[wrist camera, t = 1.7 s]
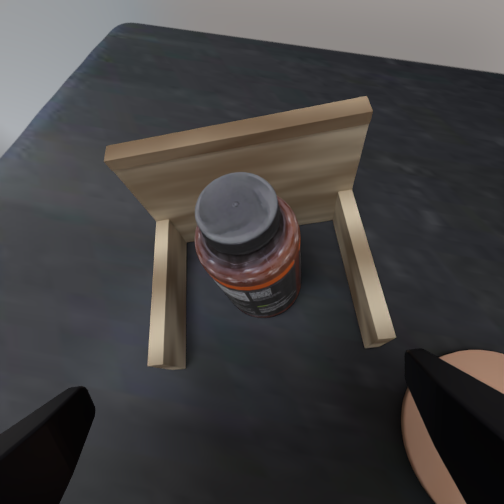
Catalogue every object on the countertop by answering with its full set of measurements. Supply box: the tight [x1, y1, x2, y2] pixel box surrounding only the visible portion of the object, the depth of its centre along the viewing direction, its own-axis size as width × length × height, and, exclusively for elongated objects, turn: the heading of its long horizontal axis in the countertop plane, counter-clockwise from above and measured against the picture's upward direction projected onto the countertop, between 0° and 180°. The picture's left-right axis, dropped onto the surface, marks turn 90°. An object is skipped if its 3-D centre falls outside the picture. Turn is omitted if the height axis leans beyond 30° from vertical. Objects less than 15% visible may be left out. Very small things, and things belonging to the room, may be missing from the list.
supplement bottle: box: [194, 172, 301, 318], centre depth 19 cm, size 6×6×11 cm
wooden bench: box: [104, 96, 396, 370], centre depth 19 cm, size 12×15×11 cm
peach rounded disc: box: [401, 350, 504, 504], centre depth 17 cm, size 10×10×1 cm
